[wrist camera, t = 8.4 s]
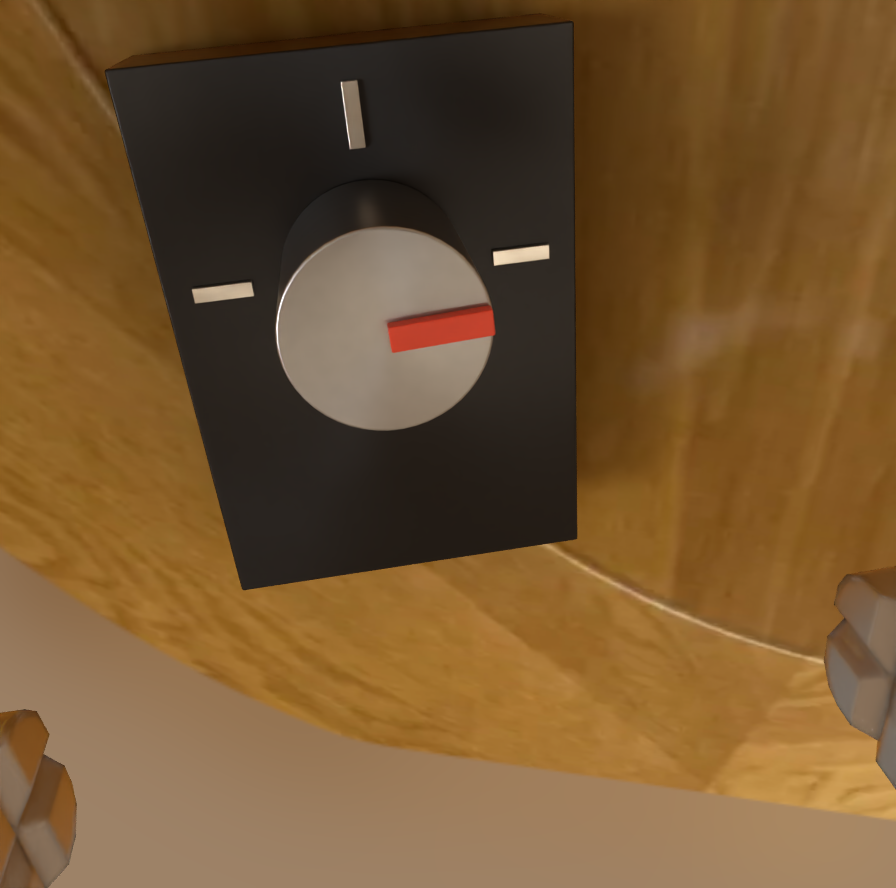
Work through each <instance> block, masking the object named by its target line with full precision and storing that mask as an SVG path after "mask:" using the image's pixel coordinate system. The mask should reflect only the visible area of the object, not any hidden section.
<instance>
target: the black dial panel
mask: <svg viewBox="0 0 896 888" xmlns="http://www.w3.org/2000/svg"><path fill="white" fill-rule="evenodd" d="M105 75H106V79H107V83H108V86H109V90H110V94H111V98H112V101H113V105H114V109H115V113H116V116H117V120H118V124H119V128H120V131H121V135H122V139H123V143H124V147H125V150H126V154H127V158H128V162H129V165H130V169H131V173H132V177H133V180H134V184H135V188H136V192H137V195H138V199H139V203H140V207H141V210H142V214H143V218H144V222H145V226H146V229H147V233H148V237H149V241H150V244H151V248H152V252H153V256H154V259H155V263H156V267H157V271H158V274H159V278H160V282H161V286H162V290H163V293H164V297H165V301H166V305H167V308H168V312H169V316H170V320H171V323H172V327H173V331H174V335H175V338H176V342H177V346H178V350H179V353H180V357H181V361H182V365H183V369H184V372H185V376H186V380H187V384H188V387H189V391H190V395H191V399H192V402H193V406H194V410H195V414H196V417H197V421H198V425H199V429H200V433H201V436H202V440H203V444H204V448H205V451H206V455H207V459H208V463H209V466H210V470H211V474H212V478H213V481H214V485H215V489H216V493H217V496H218V500H219V504H220V508H221V512H222V515H223V519H224V523H225V527H226V530H227V534H228V538H229V542H230V545H231V549H232V553H233V557H234V560H235V564H236V568H237V572H238V575H239V579H240V583H241V587H242V589H243V590H248V589H255V588H261V587H268V586H274V585H281V584H287V583H294V582H300V581H307V580H313V579H320V578H326V577H333V576H340V575H346V574H353V573H359V572H366V571H372V570H379V569H385V568H392V567H398V566H405V565H411V564H418V563H424V562H431V561H437V560H444V559H450V558H457V557H463V556H470V555H477V554H483V553H490V552H496V551H503V550H509V549H516V548H522V547H529V546H535V545H542V544H548V543H555V542H561V541H568V540H574V539H577V436H576V294H575V153H574V23H573V21H570V20H566V19H562V18H557V17H553V16H549V15H544V14H531V15H521V16H511V17H502V18H492V19H482V20H473V21H463V22H453V23H444V24H434V25H424V26H415V27H405V28H395V29H386V30H376V31H366V32H357V33H347V34H337V35H327V36H318V37H308V38H298V39H289V40H279V41H269V42H260V43H250V44H240V45H231V46H221V47H211V48H202V49H192V50H182V51H173V52H163V53H153V54H144V55H134V56H131V57H129V58H127V59H125V60H123V61H121V62H119V63H117V64H115V65H114V66H112V67H110V68H108V69H106V70H105ZM362 180H385V181H390V182H396V183H399V184H402V185H405V186H408V187H410V188H412V189H414V190H417V191H419V192H420V193H422V194H423V195H425V196H426V197H428V198H429V199H431V200H432V201H433V202H434V203H435V204H436V205H438V206H439V208H440V209H441V210H442V211H443V212H444V213H445V214H446V215H447V217H448V218H449V220H450V221H451V223H452V224H453V226H454V228H455V230H456V232H457V234H458V235H459V237H460V239H461V241H462V243H463V245H464V247H465V249H466V251H467V252H468V254H469V256H470V258H471V260H472V262H473V264H474V266H475V267H476V269H477V271H478V273H479V275H480V277H481V279H482V281H483V283H484V285H485V287H486V289H487V292H488V295H489V298H490V301H491V305H492V310H493V314H494V324H495V335H493V342H492V347H491V351H490V355H489V357H488V360H487V363H486V365H485V368H484V369H483V371H482V373H481V375H480V377H479V379H478V380H477V381H476V383H475V384H474V386H473V387H472V388H471V390H470V391H469V392H468V393H467V394H466V395H465V396H464V397H463V398H462V399H461V400H460V401H459V402H458V403H457V404H456V405H454V406H453V407H452V408H451V409H449V410H448V411H446V412H445V413H443V414H442V415H440V416H438V417H436V418H434V419H432V420H430V421H428V422H425V423H422V424H420V425H417V426H413V427H409V428H405V429H398V430H388V431H376V430H367V429H361V428H356V427H352V426H348V425H346V424H343V423H340V422H337V421H335V420H333V419H331V418H329V417H327V416H326V415H324V414H323V413H321V412H320V411H318V410H317V409H315V408H314V407H313V406H311V405H310V404H309V403H308V402H307V401H306V400H304V399H303V397H302V396H301V395H300V394H299V393H298V392H297V391H296V389H295V388H294V387H293V385H292V384H291V382H290V381H289V379H288V378H287V376H286V373H285V371H284V369H283V367H282V365H281V362H280V359H279V356H278V352H277V347H276V341H275V320H276V310H277V300H278V290H279V281H280V271H281V261H282V253H283V249H284V245H285V241H286V239H287V236H288V234H289V232H290V230H291V228H292V226H293V224H294V223H295V221H296V219H297V218H298V217H299V216H300V214H301V213H302V212H303V210H304V209H305V208H307V207H308V206H309V205H310V204H311V203H312V202H313V201H314V200H315V199H317V198H318V197H320V196H321V195H322V194H324V193H326V192H328V191H330V190H331V189H333V188H336V187H338V186H341V185H344V184H347V183H351V182H355V181H362Z"/></svg>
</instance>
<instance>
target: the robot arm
mask: <svg viewBox="0 0 896 888" xmlns="http://www.w3.org/2000/svg"><path fill="white" fill-rule="evenodd" d="M834 605H835V606H836V608H837V609H838V610H839V612H840V613H841V614H842V615H843V617H844V619H843V620H842V621H841V622H840V623H839V624H838V626H837V627H836V628H835V629H834V630H833V631H832V632H831V633H830V634H829V635H828V636H827V643H826V650H825V656H824V664H825V669H826V674H827V679H828V685H829V688H830V690H831V692H832V694H833V697H834V699H835V701H836V703H837V706H838V707H839V708H840V710H841V711H842V713H843V714H844V716H845V717H846V719H847V720H848V722H849V723H850V725H851V726H853V727H855V728H857V729H858V730H860V731H862V732H864V733H865V734H867V735H869V736H871V737H873V738H874V739H876V740H878V742H877V753H876V762H877V763H878V765H879V766H880V768H881V769H882V771H883V772H884V773H885V775H886V776H887V778H888V779H889V780H890V782H891V783H892V785H893V786H894V787H895V789H896V566H893V567H887V568H881V569H875V570H870V571H864V572H858V573H852V574H847V575H846V576H845V577H844V578H843V580H842V581H841V582H840V584H839V585H838V588H837V592H836V597H835V601H834ZM48 737H49V733H48V731H47V729H46V727H45V726H44V724H43V722H42V720H41V718H40V716H39V715H38V713H37V711H31V710H25V709H24V710H17V711H9V712H3V713H0V888H48V887H49V886H50V885H51V884H52V882H54V880H55V879H56V878H57V877H58V876H59V875H60V874H61V873H62V872H63V871H64V869H65V868H66V867H67V866H68V865H69V862H70V857H71V853H72V849H73V845H74V841H75V837H76V806H77V804H76V799H75V795H74V790H73V785H72V781H71V779H70V777H69V775H68V773H67V771H66V768H65V766H64V765H62V764H61V763H58V762H57V761H55V760H53V759H51V758H49V757H48V756H46V755H44V754H43V753H44V750H45V747H46V744H47V740H48Z"/></svg>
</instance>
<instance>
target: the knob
mask: <svg viewBox="0 0 896 888" xmlns="http://www.w3.org/2000/svg"><path fill="white" fill-rule="evenodd" d="M493 335H495V324H494V314H493V310H492V305H491V301H490V298H489V295H488V292H487V289H486V287H485V285H484V283H483V281H482V279H481V277H480V275H479V273H478V271H477V269H476V267H475V266H474V264H473V262H472V260H471V258H470V256H469V254H468V252H467V251H466V249H465V247H464V245H463V243H462V241H461V239H460V237H459V235H458V234H457V232H456V230H455V228H454V226H453V224H452V223H451V221H450V220H449V218H448V217H447V215H446V214H445V213H444V212H443V211H442V210H441V209H440V208H439V206H438V205H436V204H435V203H434V202H433V201H432V200H431V199H429V198H428V197H426V196H425V195H423V194H422V193H420V192H419V191H417V190H414V189H412V188H410V187H408V186H405V185H402V184H399V183H396V182H390V181H385V180H362V181H355V182H351V183H347V184H344V185H341V186H338V187H336V188H333V189H331V190H330V191H328V192H326V193H324V194H322V195H321V196H320V197H318V198H317V199H315V200H314V201H313V202H312V203H311V204H310V205H309V206H308V207H307V208H305V209H304V210H303V212H302V213H301V214H300V216H299V217H298V218H297V219H296V221H295V223H294V224H293V226H292V228H291V230H290V232H289V234H288V236H287V239H286V241H285V245H284V249H283V253H282V261H281V271H280V281H279V290H278V300H277V310H276V320H275V341H276V347H277V352H278V356H279V359H280V362H281V365H282V367H283V369H284V371H285V373H286V376H287V378H288V379H289V381H290V382H291V384H292V385H293V387H294V388H295V389H296V391H297V392H298V393H299V394H300V395H301V396H302V397H303V399H304V400H306V401H307V402H308V403H309V404H310V405H311V406H313V407H314V408H315V409H317V410H318V411H320V412H321V413H323V414H324V415H326V416H327V417H329V418H331V419H333V420H335V421H337V422H340V423H343V424H346V425H348V426H352V427H356V428H361V429H367V430H376V431H388V430H398V429H405V428H409V427H413V426H417V425H420V424H422V423H425V422H428V421H430V420H432V419H434V418H436V417H438V416H440V415H442V414H443V413H445V412H446V411H448V410H449V409H451V408H452V407H453V406H454V405H456V404H457V403H458V402H459V401H460V400H461V399H462V398H463V397H464V396H465V395H466V394H467V393H468V392H469V391H470V390H471V388H472V387H473V386H474V384H475V383H476V381H477V380H478V379H479V377H480V375H481V373H482V371H483V369H484V368H485V365H486V363H487V360H488V357H489V355H490V351H491V347H492V342H493Z"/></svg>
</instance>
